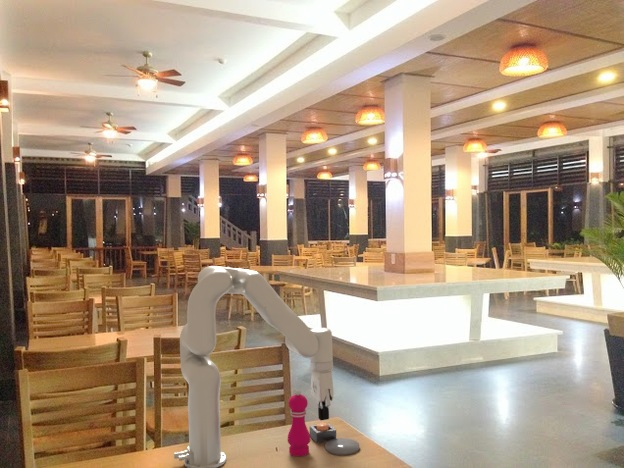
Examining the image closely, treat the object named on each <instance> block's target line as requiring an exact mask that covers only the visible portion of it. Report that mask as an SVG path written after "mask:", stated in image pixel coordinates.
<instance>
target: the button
mask: <svg viewBox="0 0 624 468" xmlns="http://www.w3.org/2000/svg"><path fill="white" fill-rule="evenodd" d="M327 423H328V422H320V423H317V424H316V425H317V431H325V430H329V425H328V424H327Z"/></svg>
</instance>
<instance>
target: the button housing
mask: <svg viewBox="0 0 624 468" xmlns="http://www.w3.org/2000/svg"><path fill="white" fill-rule="evenodd" d="M326 423H327V424H328V425H329V430H325V431H317V424H313V425H309V434H310V439H312V440H313V441H314V442H315V443H316V444H323V443H327V442H328V441H330V440H332V439H337V429H336V428H335V427H334V426H333V425H332V424H330V423H329V422H326Z"/></svg>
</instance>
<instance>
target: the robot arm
mask: <svg viewBox="0 0 624 468" xmlns="http://www.w3.org/2000/svg"><path fill="white" fill-rule="evenodd" d="M226 294H230V295H231V294H233V295H242V296H244V298H246V300H247V301H248V302H249V303H250V304H251V306H252V307H253V308H254V309H255V310H256V311H257V313H258V314H259V315H260V316H261V318H262V319H263V320H264V321H265V323H267V324H268V325H269V326H271V328H272V327H273V328H274V329H276V330H277V331H278V332H279V333H281V334H282V335H283V337H285V338H284V339H285V340H284V342H285V346H286V348H288V350H290V352H293V353H295V354H297V355H299V356H300V357H302V358H308V359H309V358H310V371H311V373H310V394H311V396H312V397H313V398H314V399H315V400H316V402H317V408H318V409H317V410H318V411H317V412H318V419H319V421H326V420H329V419H330V409H329V408H330V406H331V402H332V401H333V400H334V382H333V381H334V380H333V374H332V371H333V370H334V360H333V359H334V357H333V356H334V355H333V354H334V353H333V334H332V332H333V331H331V329H330V328H328V327H315V328H313V329H310V328H309V327H308V325H307V324H306V323H305V322H304V321H303V319H301V318H300V317H299V316H298V314H296V313H295V312H294V311H293V309H291V308H290V306H289V305H287V304H286V302H285V301H284V300H283V298H281V297H280V295H279V293H277V292H276V290H275V289H274V288H273V287H272V285H271V284H270V283H269V282H268V281H267V280H266V278H265V277H264V276H263V275H262V274H261V273H260V272H258V271H256V270H251V269H246V268H245V269H244V268H233V267H224V266H216V265H210V266H206V267H204V268H202V269H201V270H200V272H199V273H198V276H197V283H196V284H195V286H194V287H193V289H192V291H191V293H190V295H189V296H188V297H189V298H188V299H187V315H186V316H187V319H186V320H187V322H186V324H185V325H184V326H183V327H182V329H181V331H180V333H179V354H180V355H179V356H180V358H179V359H180V371H181V374H182V377H183V378H184V380H185V381H186V382H187V384H188V396H187V415H188V440H189V441H188V446H187V447H186V449H184V450H183V451H175V452H173V459H174V460H177V459H178V461H179V462H180V461H184V463H183V464H184V466H185V467H186V468H220V467H221V466H222V465H224V464H225V463H226V461H227V456H226V454H225V452H223V451H222V449H221V447H222V446H221V445H222V443H221V437H222V436H221V411H220V410H221V409H220V398H221V397H220V396H221V395H220V393H221V385H222V377H221V372H220V369H219V367H218V366H217V365H216V363H215V362H213V361H212V359H211V353H213V351H214V350H215V349H216V345H217V340H218V339H217V326H216V325H217V324H216V323H217V322H216V315H217V313H216V310H217V305H218V302H219V301H220V299H221V298H222V297H223V296H224V295H226Z"/></svg>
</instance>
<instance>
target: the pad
mask: <svg viewBox="0 0 624 468" xmlns="http://www.w3.org/2000/svg"><path fill="white" fill-rule="evenodd" d="M324 446H325V451H326V452H328V453H329V454H332V455H336V456H349V455H354V454H356V453H357V452H359V450H360V443H359V442H358V441H357V440H355V439H352V438H347V437H341V438H340V437H339V438H337V437H336V439H332V440H330V441H328V442H325V444H324Z"/></svg>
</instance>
